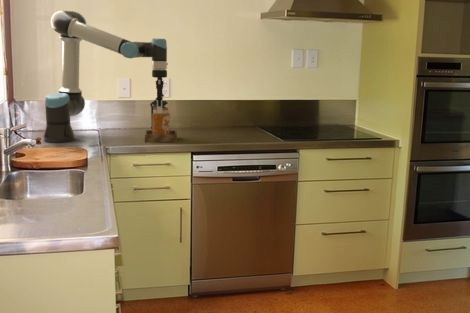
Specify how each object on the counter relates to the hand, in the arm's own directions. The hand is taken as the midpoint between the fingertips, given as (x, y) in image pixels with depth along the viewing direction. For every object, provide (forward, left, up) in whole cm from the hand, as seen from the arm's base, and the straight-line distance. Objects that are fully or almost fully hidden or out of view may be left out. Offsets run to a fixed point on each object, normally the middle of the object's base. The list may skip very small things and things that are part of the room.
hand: (159, 111), depth 282 cm
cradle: (+1, 0, -15) cm, 15 cm away
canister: (0, 0, -14) cm, 14 cm away
